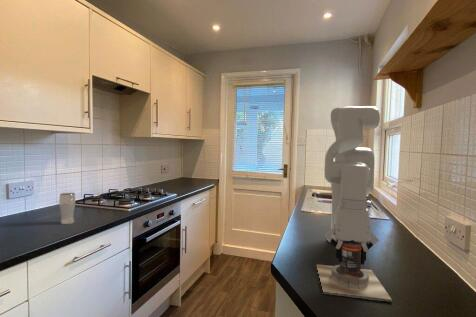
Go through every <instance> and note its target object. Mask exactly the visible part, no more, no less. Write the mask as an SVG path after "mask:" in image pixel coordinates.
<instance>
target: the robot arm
mask: <svg viewBox="0 0 476 317" xmlns="http://www.w3.org/2000/svg"><path fill="white" fill-rule="evenodd" d="M380 113H381V112H380V111H379V109H378V108H377V107H376V106H374V105H373V106H372V105H371V106H370V105H369V106H368V105H367V106H365V105H364V106H340V107H339V106H338V107H335V108H333V109H332V110H331V112H330V124H331V127H332V130H333V132H334V136H335V141H334V142H333V143H331V145H330V146H329V147H328V149H327V151H326V153H325V158H324V178H325V180H326V182H327V183H329V184H330V187H331V218H330V230H328V231H327V232H326V233H325V235H324V236H325V238H326V241H328V243H331V245H332V246H334V248H335V255H334V256H335V259H336V260H337V262H338V263H340V262H341V256H342V250H341V245H342V243H343V241H351V240H354V241H355V242H359V243H360V244H361V266H364V265H365V262H366V261H367V252H368V251H369V250H370V249H371V248H372V247H373V246H374V245H376V244H377V243H378V242H379V238H378V237H377V236H376V235H375V234H374V233H373V232H372V231H371V222H370V220H371V219H370V212H369V210H368V207H372V201H370V200H368V199H367V195H371V194H372V193H373V191H374V186H375V184H374V183H375V163H376V162H375V161H376V160H375V153H374V151H373V150H372V149H371V148H370V147H360V146H362V144H363V142H364V130H363V129H367V130H372V129H373V130H374V129H377V128H379V125H380V121H381V114H380ZM334 160H335V161H334Z"/></svg>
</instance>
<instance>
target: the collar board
mask: <svg viewBox="0 0 476 317" xmlns="http://www.w3.org/2000/svg"><path fill="white" fill-rule="evenodd" d="M316 267H317V268H316V271H317V270H318V272H317V275H318V274H319V276H318V279H319V278H320V281H319V283H320V282H321V285H320V287H321V286H322V289H321V291H322V290H323V292H329V293H338V294H347V295H356V296H362V297H369V298H378V299H385V300H391V301H392V302H393V299H392V297H391V296H390V295H389V293H388V292H387V290H386V289H385V287H384V285H383V284H382V283H381V282H380V280H379V279H378V278H377V277H378V276H376V274H375V273H374V272H373V270H372V269H367V268H366V269H364V268H361V270H360V273H359V274H355V275H352V274H347V273H344V272H343V271H341V269H340V264H335V265H326V264H316Z"/></svg>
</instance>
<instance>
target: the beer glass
mask: <svg viewBox="0 0 476 317" xmlns="http://www.w3.org/2000/svg"><path fill="white" fill-rule="evenodd" d="M58 200H59V202H58V204H59V211H60V215H61V218H60V222H59V223H60V224H61V225H70V224H74V223H75V218H74V214H75V213H74V212H75V210H76V209H75V208H76V193H75V192H64V193H63V192H62V193H59V199H58Z"/></svg>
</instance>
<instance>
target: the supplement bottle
mask: <svg viewBox="0 0 476 317" xmlns="http://www.w3.org/2000/svg"><path fill="white" fill-rule="evenodd" d="M341 250H342V256H341V262H339V265H340V269H341V271H343V272H344V273H347V274H352V275H355V274H359V273H360V270H361V269H362V268H361V267H362V264H361V244H360V242H355V241H354V240H351V241H343V243H342V245H341Z"/></svg>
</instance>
